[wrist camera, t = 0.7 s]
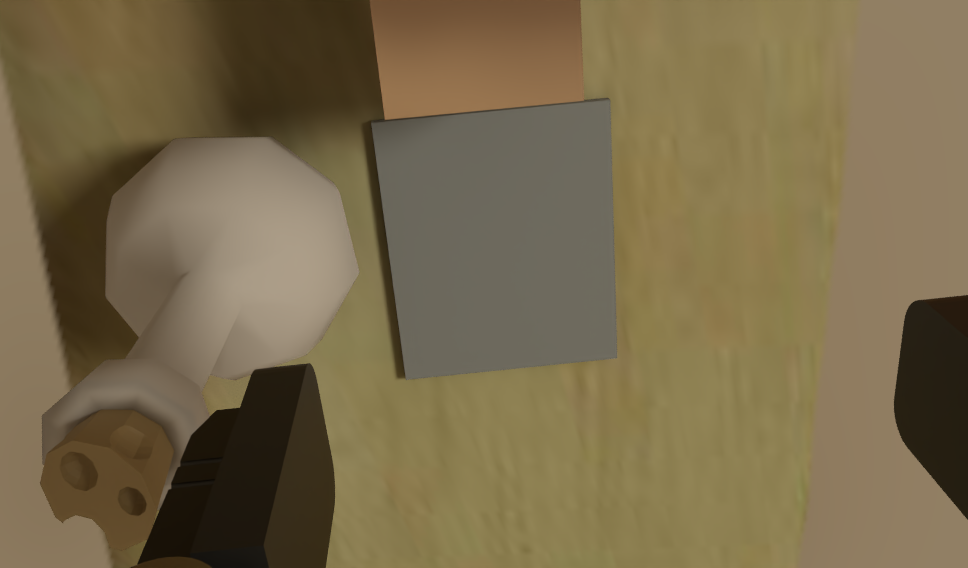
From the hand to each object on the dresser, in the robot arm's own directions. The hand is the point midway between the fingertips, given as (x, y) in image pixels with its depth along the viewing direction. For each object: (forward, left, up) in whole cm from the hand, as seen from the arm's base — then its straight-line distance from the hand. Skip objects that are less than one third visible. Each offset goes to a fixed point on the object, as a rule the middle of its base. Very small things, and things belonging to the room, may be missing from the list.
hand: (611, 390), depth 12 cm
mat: (+7, 0, -23) cm, 24 cm away
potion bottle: (+5, -10, -23) cm, 26 cm away
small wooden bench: (-4, -1, -23) cm, 24 cm away
